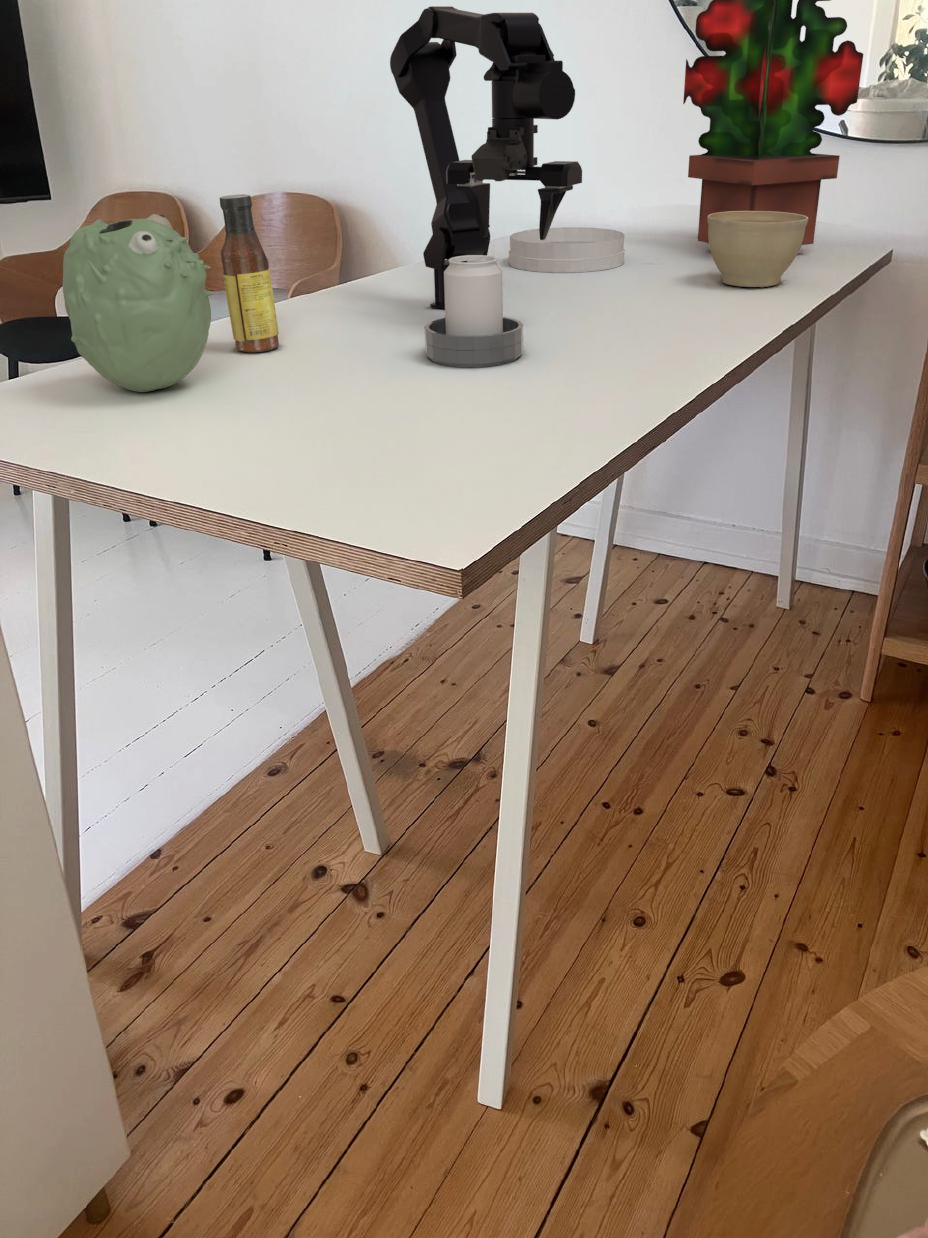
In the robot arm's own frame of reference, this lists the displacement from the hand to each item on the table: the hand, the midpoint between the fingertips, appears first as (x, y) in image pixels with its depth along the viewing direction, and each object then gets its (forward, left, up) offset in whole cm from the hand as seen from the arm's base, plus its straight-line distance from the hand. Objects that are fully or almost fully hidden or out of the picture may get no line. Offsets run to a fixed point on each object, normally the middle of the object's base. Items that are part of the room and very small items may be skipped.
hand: (513, 238), depth 152 cm
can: (+4, -20, -12) cm, 23 cm away
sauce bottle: (-26, -28, -12) cm, 40 cm away
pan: (+4, -20, -12) cm, 24 cm away
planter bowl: (+24, +43, -12) cm, 51 cm away
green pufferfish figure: (-25, -50, -12) cm, 57 cm away
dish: (-14, +52, -12) cm, 55 cm away
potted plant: (+16, +75, -12) cm, 78 cm away
